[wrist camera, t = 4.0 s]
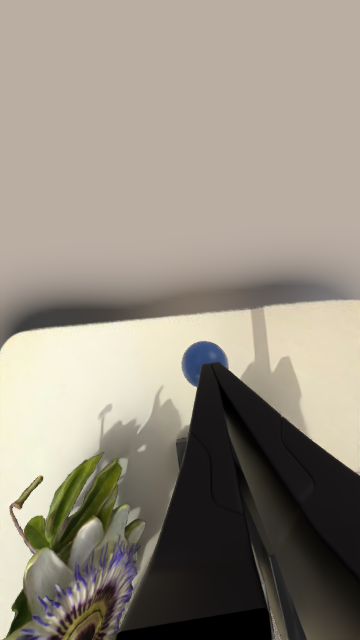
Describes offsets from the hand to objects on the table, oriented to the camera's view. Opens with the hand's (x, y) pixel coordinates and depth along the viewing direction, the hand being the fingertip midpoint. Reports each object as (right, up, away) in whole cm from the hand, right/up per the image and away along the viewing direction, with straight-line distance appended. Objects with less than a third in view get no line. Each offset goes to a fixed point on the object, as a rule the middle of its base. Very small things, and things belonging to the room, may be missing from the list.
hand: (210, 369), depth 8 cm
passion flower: (-10, -18, +9) cm, 23 cm away
